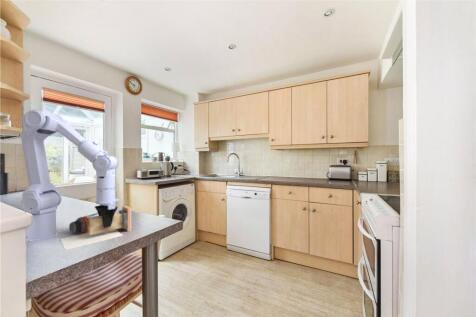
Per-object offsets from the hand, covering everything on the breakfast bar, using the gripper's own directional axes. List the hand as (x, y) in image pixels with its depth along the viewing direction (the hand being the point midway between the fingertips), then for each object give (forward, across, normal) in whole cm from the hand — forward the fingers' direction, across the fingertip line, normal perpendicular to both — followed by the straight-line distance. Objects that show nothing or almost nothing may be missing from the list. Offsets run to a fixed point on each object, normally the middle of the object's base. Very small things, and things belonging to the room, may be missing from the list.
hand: (106, 225), depth 74 cm
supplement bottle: (0, +12, -2) cm, 12 cm away
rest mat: (+3, 0, +4) cm, 5 cm away
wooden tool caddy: (+2, 0, 0) cm, 2 cm away
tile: (+3, 0, -7) cm, 8 cm away
